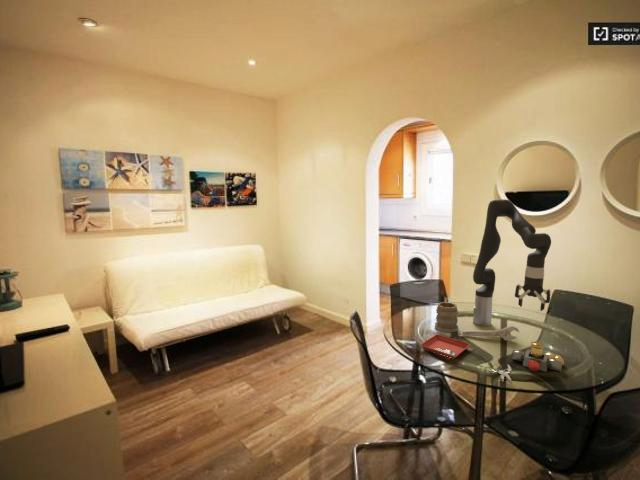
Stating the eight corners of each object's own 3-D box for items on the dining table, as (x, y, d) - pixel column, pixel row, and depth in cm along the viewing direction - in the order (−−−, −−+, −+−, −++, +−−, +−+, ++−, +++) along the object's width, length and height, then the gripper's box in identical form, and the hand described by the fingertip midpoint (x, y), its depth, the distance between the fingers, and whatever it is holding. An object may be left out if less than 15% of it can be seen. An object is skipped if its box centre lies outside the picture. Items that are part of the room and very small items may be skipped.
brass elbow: (543, 358, 165) (546, 364, 160) (543, 351, 164) (547, 357, 159) (560, 360, 163) (564, 366, 157) (560, 353, 162) (564, 359, 157)
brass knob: (528, 361, 159) (530, 344, 158) (530, 357, 163) (531, 340, 162) (541, 364, 156) (542, 347, 155) (542, 360, 160) (544, 343, 158)
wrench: (458, 339, 194) (519, 340, 184) (458, 341, 192) (520, 341, 182) (456, 325, 193) (518, 325, 183) (457, 327, 191) (519, 326, 181)
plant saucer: (470, 349, 176) (470, 343, 176) (455, 362, 163) (455, 356, 163) (436, 339, 189) (436, 333, 188) (419, 350, 176) (420, 344, 176)
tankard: (458, 333, 195) (459, 307, 193) (434, 331, 199) (435, 305, 197) (457, 320, 214) (457, 296, 211) (435, 318, 218) (435, 295, 215)
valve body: (508, 366, 159) (509, 355, 158) (514, 355, 169) (514, 345, 168) (559, 379, 147) (560, 368, 146) (561, 366, 157) (562, 356, 156)
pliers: (509, 362, 159) (519, 380, 145) (509, 366, 160) (519, 383, 145) (485, 360, 162) (494, 377, 147) (485, 364, 162) (493, 381, 147)
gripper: (515, 274, 166) (512, 307, 169) (551, 280, 157) (547, 314, 160) (518, 271, 171) (515, 302, 174) (553, 276, 163) (549, 309, 166)
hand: (531, 308), depth 167 cm, fingers open, 8 cm apart
